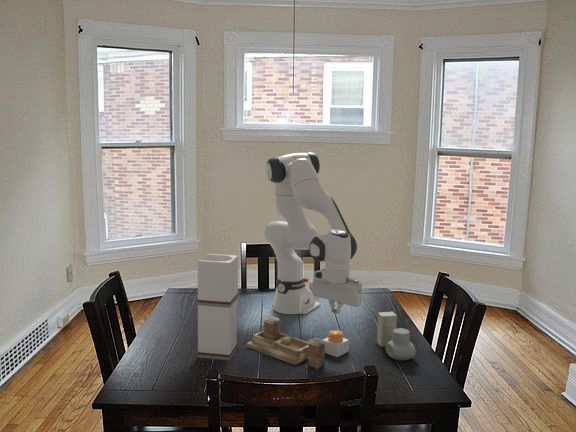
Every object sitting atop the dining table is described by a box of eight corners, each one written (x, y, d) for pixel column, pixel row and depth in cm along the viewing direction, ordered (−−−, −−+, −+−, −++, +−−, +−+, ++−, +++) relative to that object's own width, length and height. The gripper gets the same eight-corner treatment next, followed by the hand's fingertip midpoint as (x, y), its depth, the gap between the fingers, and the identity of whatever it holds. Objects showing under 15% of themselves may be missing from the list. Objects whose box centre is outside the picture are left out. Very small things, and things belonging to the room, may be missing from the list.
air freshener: (382, 352, 210) (384, 326, 208) (403, 350, 212) (404, 324, 210) (396, 364, 199) (398, 337, 198) (417, 362, 202) (419, 335, 200)
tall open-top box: (237, 348, 210) (238, 255, 204) (229, 360, 199) (230, 262, 194) (207, 345, 212) (207, 253, 206) (198, 357, 201) (197, 260, 195)
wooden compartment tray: (271, 336, 222) (272, 310, 220) (319, 352, 208) (320, 325, 206) (246, 346, 212) (246, 319, 210) (294, 365, 197) (295, 336, 195)
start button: (333, 338, 212) (334, 329, 211) (345, 341, 209) (345, 332, 208) (325, 341, 208) (326, 332, 208) (337, 345, 205) (337, 336, 204)
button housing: (332, 346, 214) (333, 334, 213) (348, 351, 210) (348, 339, 209) (321, 351, 209) (322, 340, 208) (337, 357, 204) (337, 345, 204)
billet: (314, 361, 200) (315, 337, 199) (324, 365, 198) (325, 340, 196) (307, 365, 197) (308, 340, 196) (317, 368, 195) (317, 343, 193)
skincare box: (391, 341, 220) (393, 311, 218) (395, 346, 216) (397, 315, 214) (376, 342, 219) (377, 311, 217) (379, 346, 214) (381, 315, 212)
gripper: (366, 279, 200) (364, 317, 202) (320, 268, 213) (318, 304, 215) (356, 283, 195) (354, 321, 197) (309, 271, 208) (308, 308, 210)
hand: (335, 312), depth 206 cm, fingers closed
